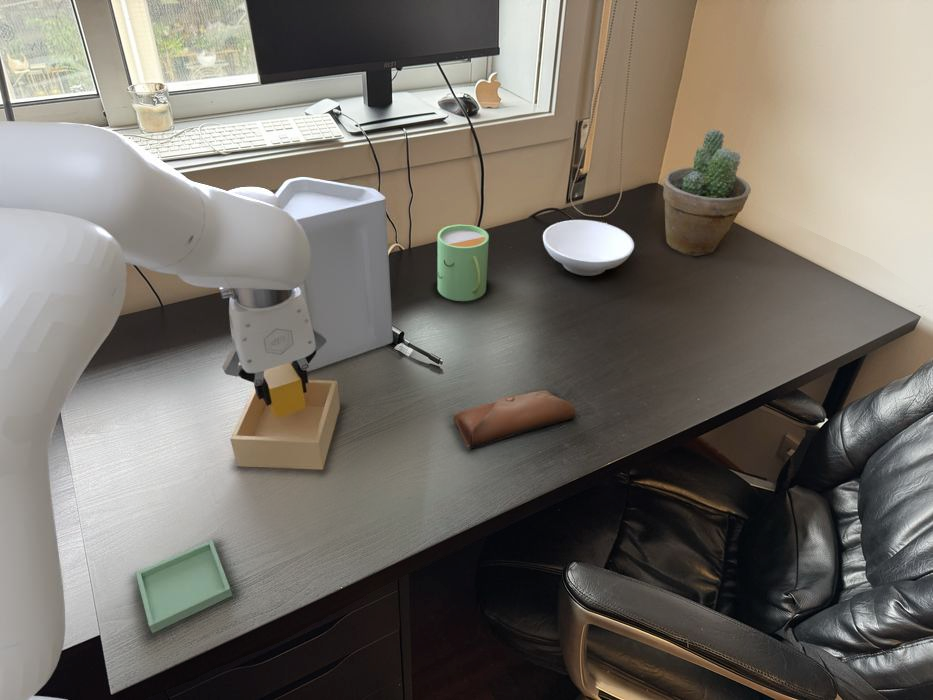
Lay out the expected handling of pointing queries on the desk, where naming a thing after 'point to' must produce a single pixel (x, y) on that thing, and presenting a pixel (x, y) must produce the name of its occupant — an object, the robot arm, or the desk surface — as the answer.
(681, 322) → the desk surface
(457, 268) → the mug
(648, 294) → the desk surface
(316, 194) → the white triangular prism tub
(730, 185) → the potted plant
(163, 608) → the green tray
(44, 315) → the robot arm
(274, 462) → the sand bin
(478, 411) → the sunglasses case
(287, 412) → the mustard box
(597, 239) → the bowl
